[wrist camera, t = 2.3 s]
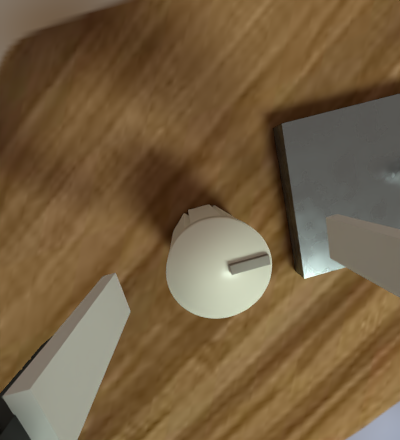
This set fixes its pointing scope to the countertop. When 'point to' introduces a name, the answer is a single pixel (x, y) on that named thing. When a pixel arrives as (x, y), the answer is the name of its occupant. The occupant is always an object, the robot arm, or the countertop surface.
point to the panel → (339, 175)
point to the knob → (216, 263)
